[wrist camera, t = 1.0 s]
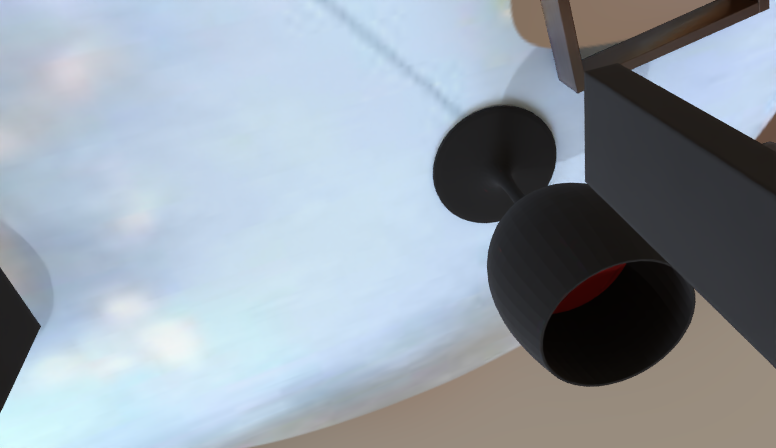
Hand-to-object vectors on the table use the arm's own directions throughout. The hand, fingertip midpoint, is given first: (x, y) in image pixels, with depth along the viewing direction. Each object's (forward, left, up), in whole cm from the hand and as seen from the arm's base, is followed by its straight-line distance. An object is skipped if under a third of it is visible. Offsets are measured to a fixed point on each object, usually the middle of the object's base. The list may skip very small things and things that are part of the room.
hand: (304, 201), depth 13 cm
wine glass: (+19, +10, -30) cm, 37 cm away
